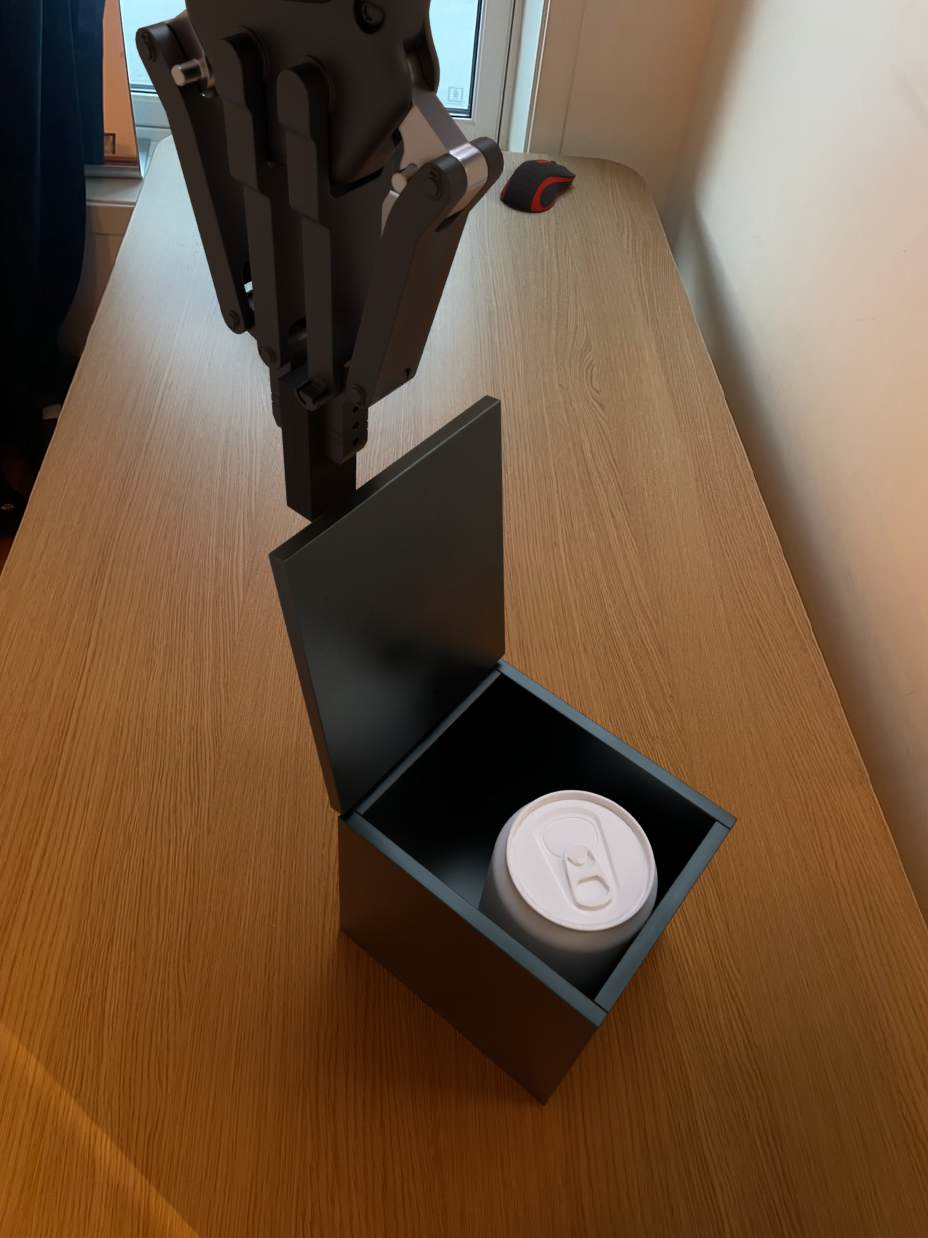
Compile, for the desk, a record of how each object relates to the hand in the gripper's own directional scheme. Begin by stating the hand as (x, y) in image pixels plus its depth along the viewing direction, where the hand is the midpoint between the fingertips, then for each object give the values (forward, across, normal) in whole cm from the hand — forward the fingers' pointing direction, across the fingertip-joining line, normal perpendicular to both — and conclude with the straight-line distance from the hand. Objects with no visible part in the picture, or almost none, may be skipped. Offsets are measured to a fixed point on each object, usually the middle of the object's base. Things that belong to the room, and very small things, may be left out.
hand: (321, 497), depth 40 cm
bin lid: (+3, -6, 0) cm, 7 cm away
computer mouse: (+26, +37, -75) cm, 88 cm away
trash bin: (+25, -14, 0) cm, 29 cm away
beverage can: (+25, -16, 0) cm, 30 cm away
